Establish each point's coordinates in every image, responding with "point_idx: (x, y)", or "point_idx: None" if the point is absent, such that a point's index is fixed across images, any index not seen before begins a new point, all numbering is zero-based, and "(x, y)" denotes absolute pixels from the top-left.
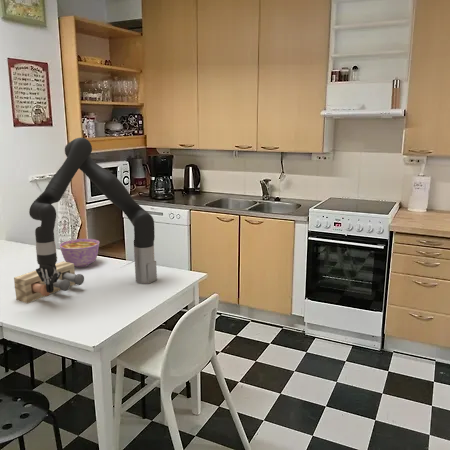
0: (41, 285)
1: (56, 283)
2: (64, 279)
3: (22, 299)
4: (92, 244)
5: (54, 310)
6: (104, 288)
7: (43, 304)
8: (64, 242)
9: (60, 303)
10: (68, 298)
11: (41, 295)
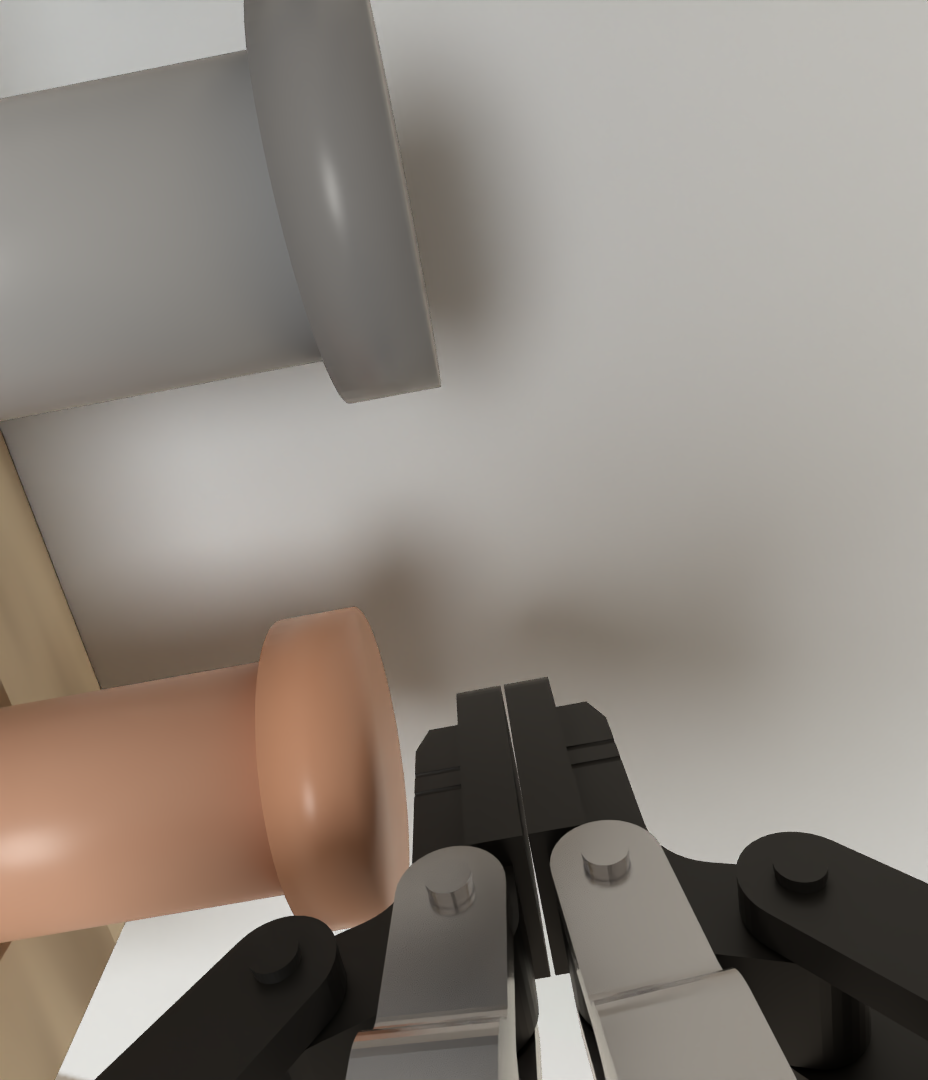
0: (186, 883)
1: (138, 391)
2: (293, 155)
3: None
4: None
5: (810, 707)
6: None
7: (422, 705)
8: None
9: (629, 491)
10: (523, 231)
11: (36, 592)
